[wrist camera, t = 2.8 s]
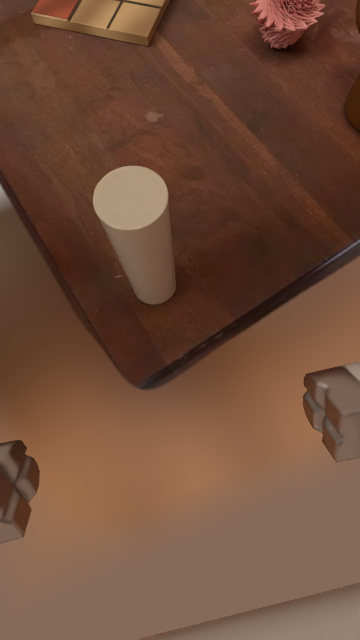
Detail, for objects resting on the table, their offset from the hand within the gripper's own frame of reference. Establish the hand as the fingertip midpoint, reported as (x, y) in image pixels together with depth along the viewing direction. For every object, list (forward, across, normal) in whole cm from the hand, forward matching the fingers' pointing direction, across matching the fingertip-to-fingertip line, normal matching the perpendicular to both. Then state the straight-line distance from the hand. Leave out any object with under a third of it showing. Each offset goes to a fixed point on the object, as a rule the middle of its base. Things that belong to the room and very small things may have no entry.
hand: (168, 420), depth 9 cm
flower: (+38, -20, -15) cm, 46 cm away
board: (+48, -2, -25) cm, 54 cm away
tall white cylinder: (+19, 0, +4) cm, 20 cm away
